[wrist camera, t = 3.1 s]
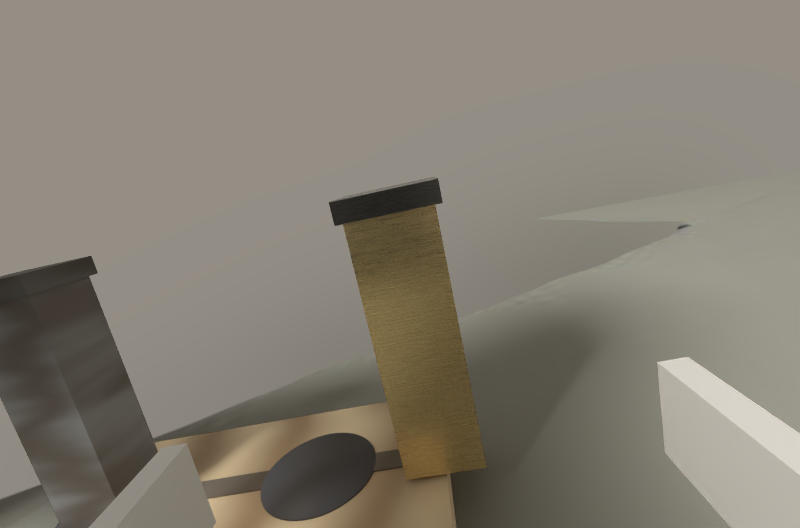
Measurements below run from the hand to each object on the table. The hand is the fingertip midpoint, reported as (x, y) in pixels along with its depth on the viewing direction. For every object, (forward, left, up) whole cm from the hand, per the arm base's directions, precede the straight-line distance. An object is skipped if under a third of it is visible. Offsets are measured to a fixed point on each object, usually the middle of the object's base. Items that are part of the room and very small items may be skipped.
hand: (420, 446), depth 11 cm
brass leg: (0, +9, -7) cm, 12 cm away
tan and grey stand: (-11, +9, -9) cm, 17 cm away
